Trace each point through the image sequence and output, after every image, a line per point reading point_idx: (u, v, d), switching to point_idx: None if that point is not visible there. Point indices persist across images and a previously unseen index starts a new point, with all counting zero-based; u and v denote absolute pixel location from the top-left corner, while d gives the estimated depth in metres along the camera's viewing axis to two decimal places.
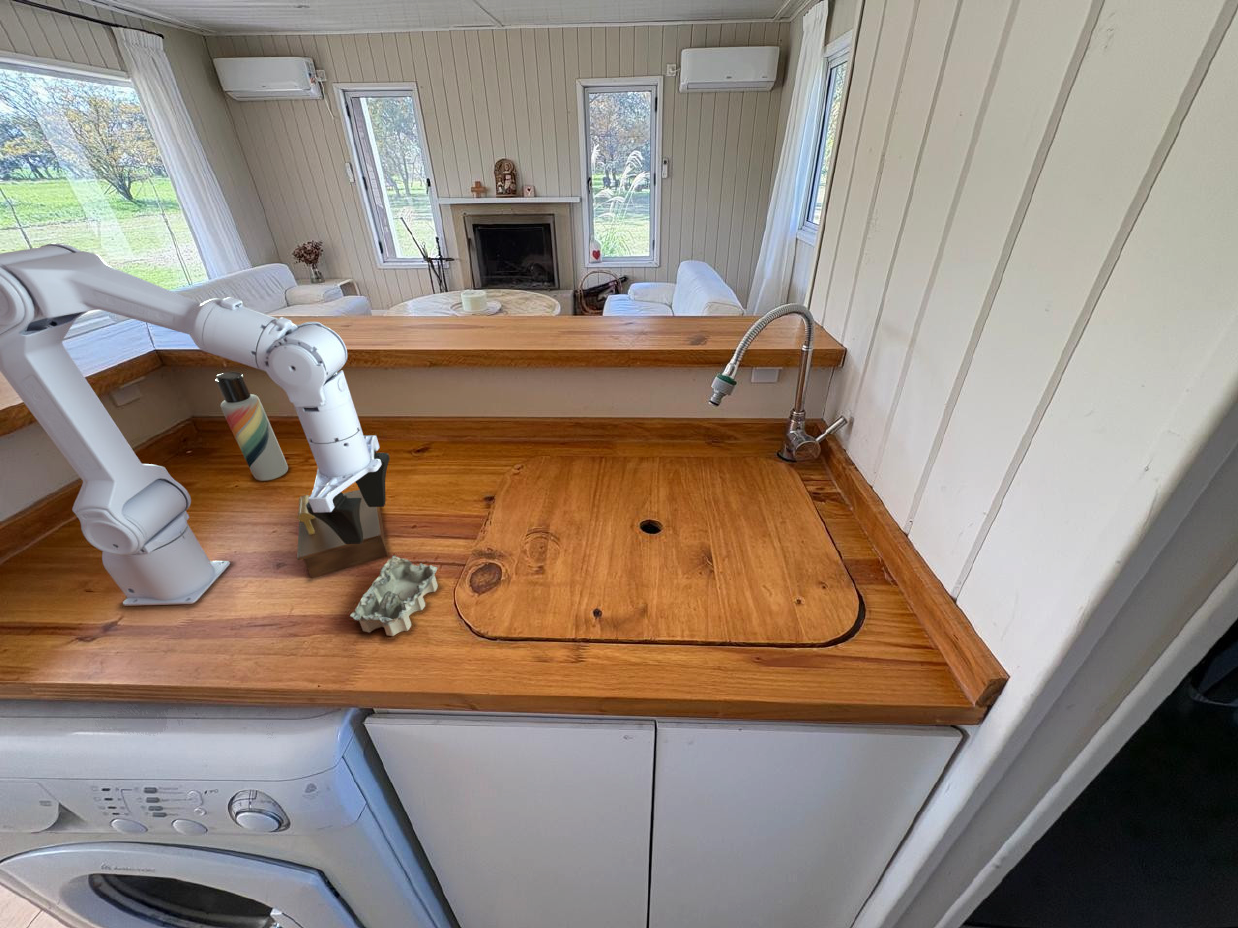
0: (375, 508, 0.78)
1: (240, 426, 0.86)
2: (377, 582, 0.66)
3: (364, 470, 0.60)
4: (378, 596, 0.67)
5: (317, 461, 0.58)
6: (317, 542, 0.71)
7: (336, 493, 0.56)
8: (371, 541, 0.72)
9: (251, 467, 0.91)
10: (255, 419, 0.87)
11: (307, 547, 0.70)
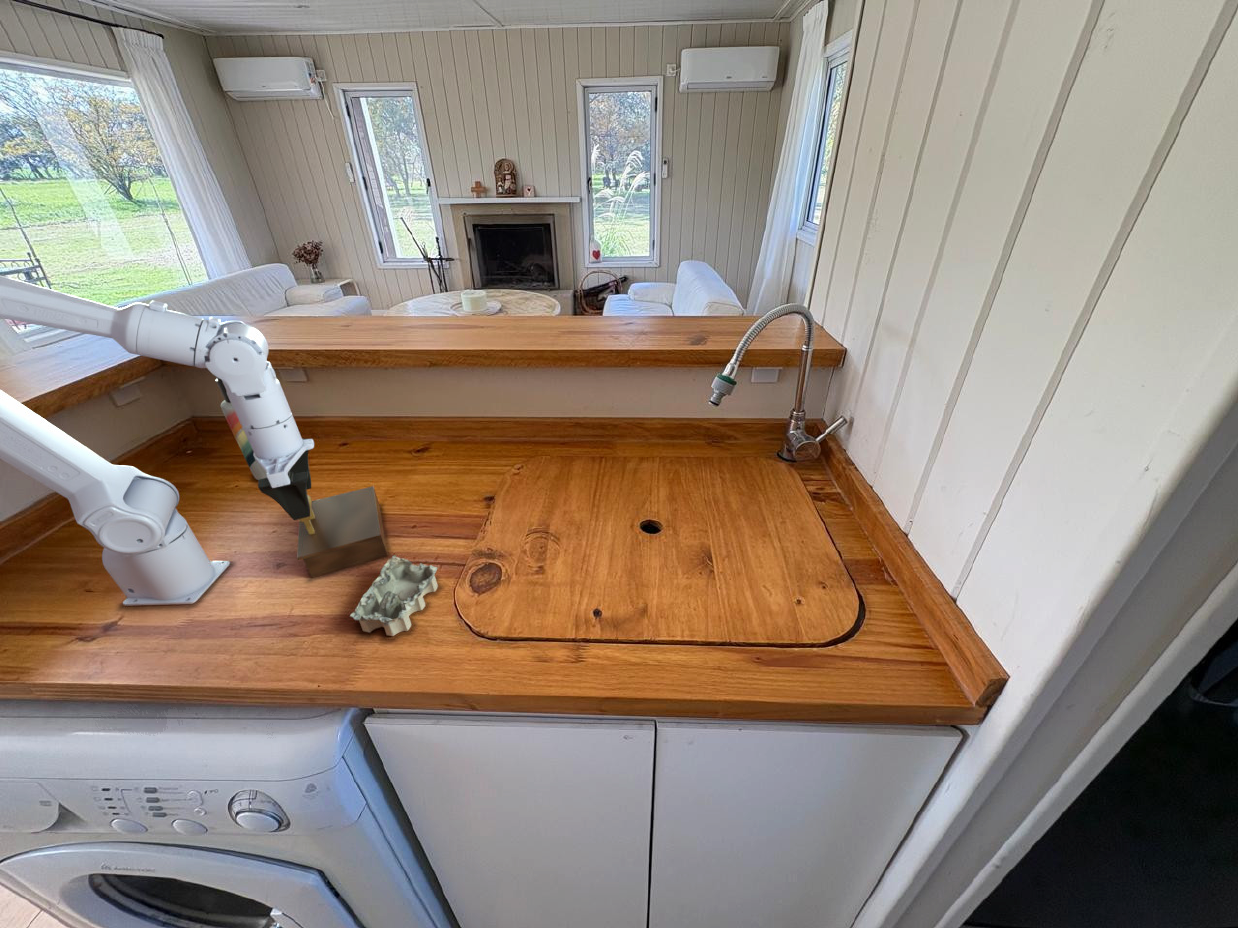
0: (375, 508, 0.78)
1: (240, 426, 0.86)
2: (377, 582, 0.66)
3: (302, 448, 0.68)
4: (378, 596, 0.67)
5: (258, 447, 0.64)
6: (317, 542, 0.71)
7: (289, 468, 0.64)
8: (371, 541, 0.72)
9: (251, 467, 0.91)
10: None
11: (307, 547, 0.70)
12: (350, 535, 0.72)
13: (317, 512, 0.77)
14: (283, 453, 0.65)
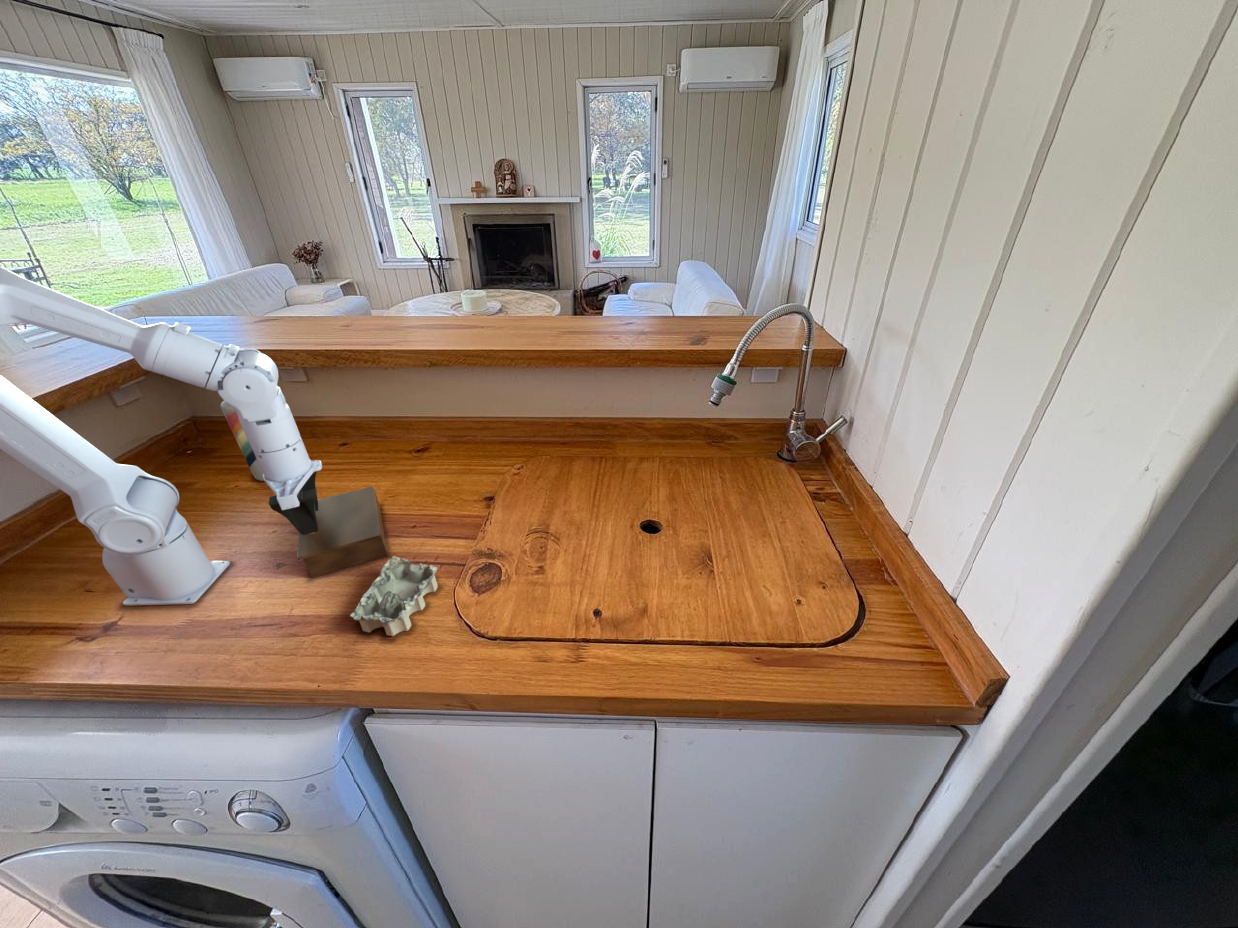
0: (375, 508, 0.78)
1: (240, 426, 0.86)
2: (377, 582, 0.66)
3: (311, 470, 0.69)
4: (378, 596, 0.67)
5: (268, 469, 0.66)
6: (317, 542, 0.71)
7: (298, 490, 0.66)
8: (371, 541, 0.72)
9: (251, 467, 0.91)
10: None
11: (307, 547, 0.70)
12: (350, 535, 0.72)
13: (317, 512, 0.77)
14: (292, 475, 0.67)
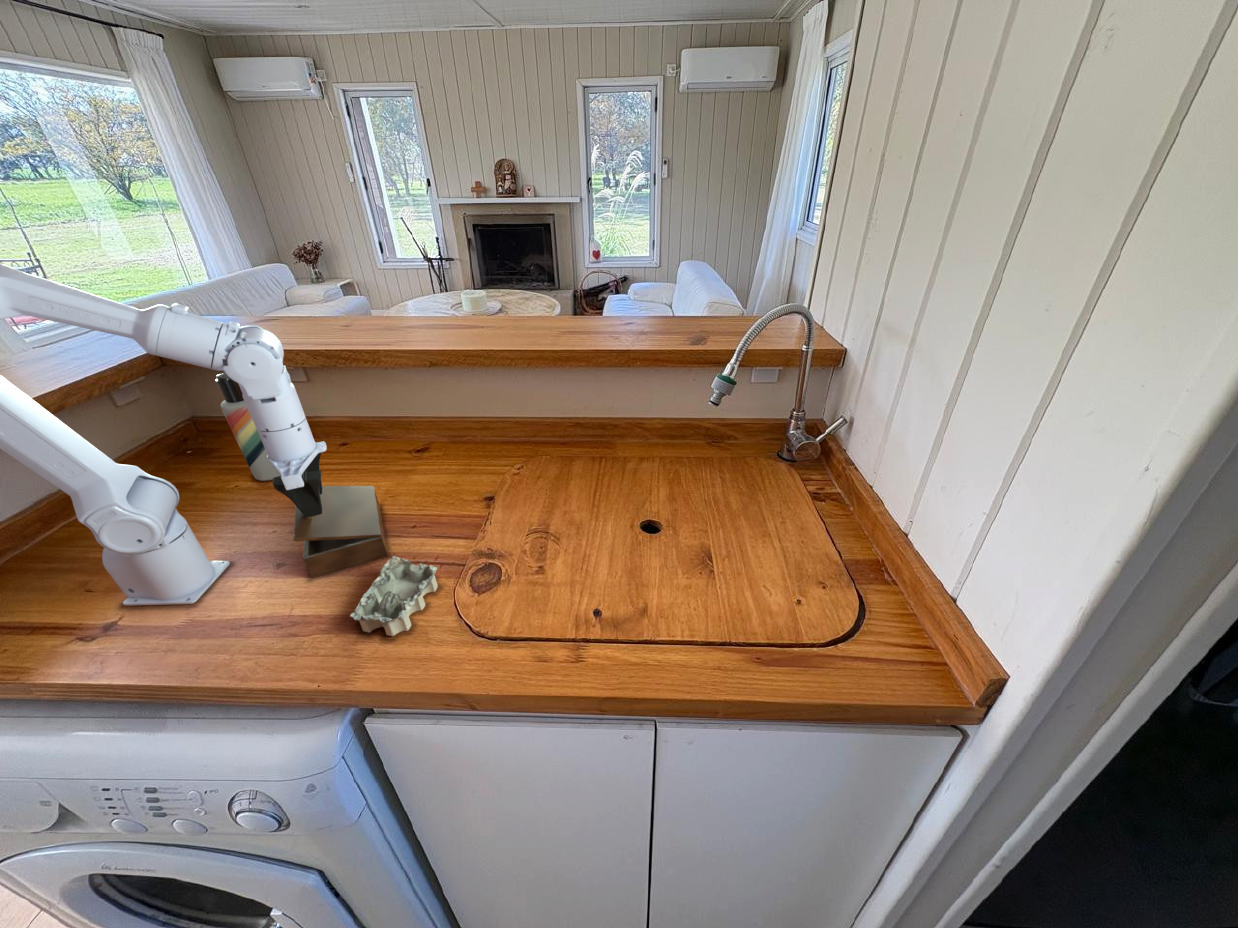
0: (376, 508, 0.78)
1: (240, 426, 0.86)
2: (377, 582, 0.66)
3: (315, 451, 0.68)
4: (378, 596, 0.67)
5: (272, 449, 0.65)
6: (315, 528, 0.70)
7: (302, 471, 0.65)
8: (371, 541, 0.72)
9: (251, 467, 0.91)
10: None
11: (304, 530, 0.69)
12: (350, 528, 0.72)
13: None
14: (297, 456, 0.66)
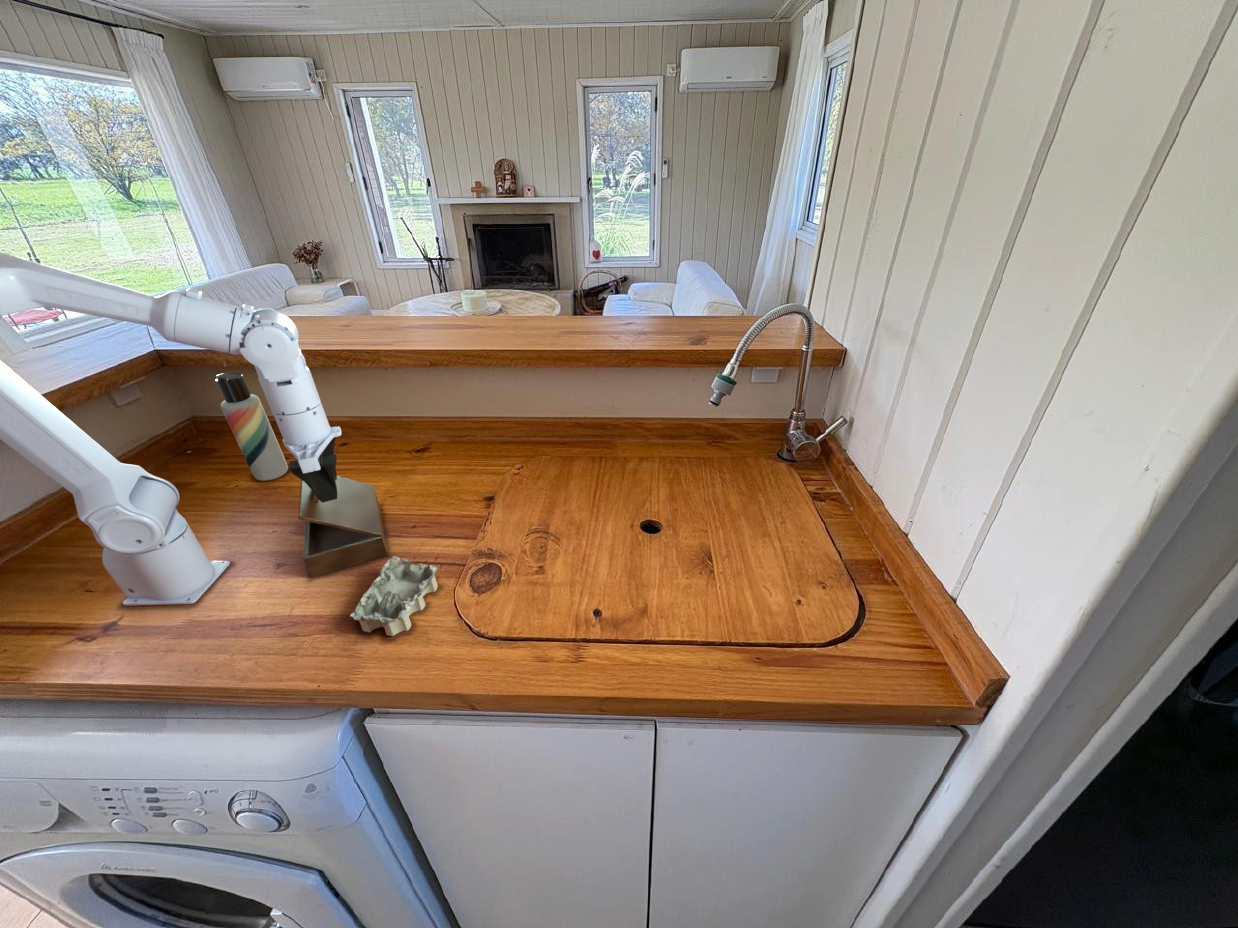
0: (376, 507, 0.78)
1: (240, 426, 0.86)
2: (377, 582, 0.66)
3: (331, 435, 0.68)
4: (378, 596, 0.67)
5: (288, 433, 0.65)
6: (320, 511, 0.69)
7: (319, 454, 0.65)
8: (371, 541, 0.72)
9: (251, 467, 0.91)
10: (255, 419, 0.87)
11: (310, 511, 0.68)
12: (353, 521, 0.72)
13: None
14: (312, 440, 0.66)
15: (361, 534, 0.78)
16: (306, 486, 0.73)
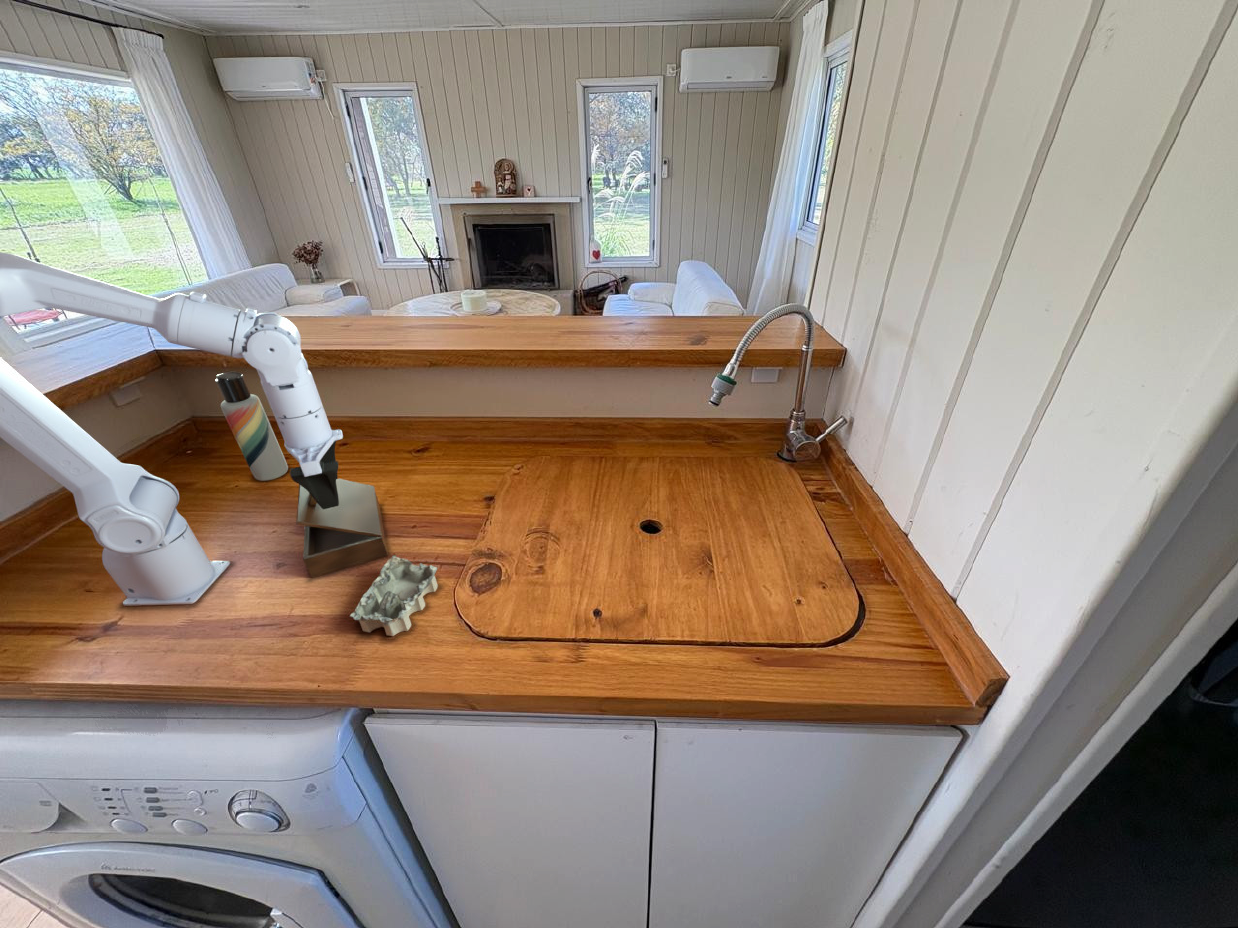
0: (376, 507, 0.78)
1: (240, 426, 0.86)
2: (377, 582, 0.66)
3: (332, 439, 0.69)
4: (378, 596, 0.67)
5: (289, 436, 0.65)
6: (318, 515, 0.69)
7: (320, 457, 0.65)
8: (371, 541, 0.72)
9: (251, 467, 0.91)
10: (255, 419, 0.87)
11: (308, 516, 0.68)
12: (352, 522, 0.72)
13: None
14: (314, 443, 0.67)
15: (361, 534, 0.78)
16: (304, 490, 0.73)
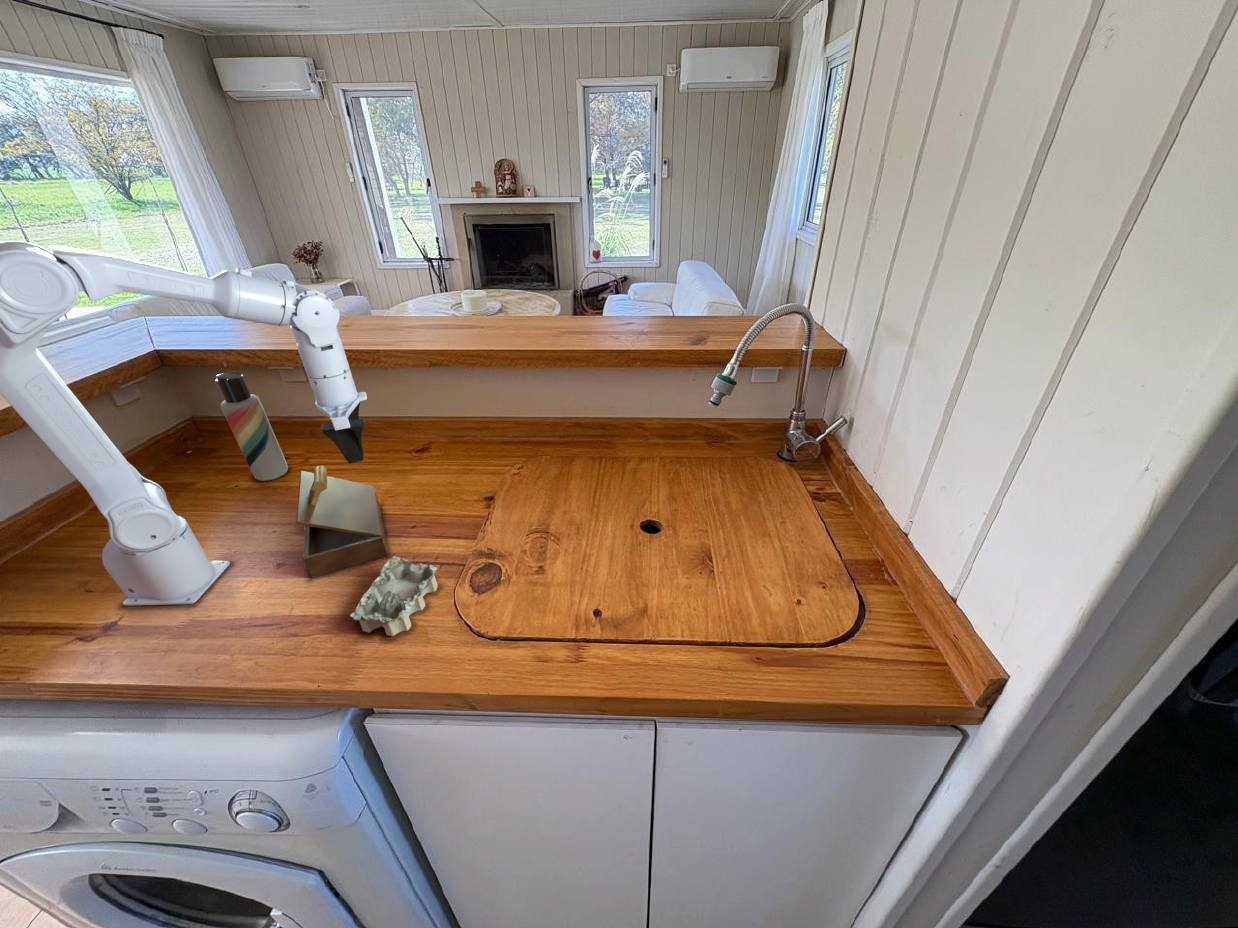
0: (376, 507, 0.78)
1: (240, 426, 0.86)
2: (377, 582, 0.66)
3: (358, 399, 0.76)
4: (378, 596, 0.67)
5: (321, 395, 0.73)
6: (318, 515, 0.69)
7: (348, 414, 0.73)
8: (371, 541, 0.72)
9: (251, 467, 0.91)
10: (255, 419, 0.87)
11: (308, 516, 0.68)
12: (352, 522, 0.72)
13: None
14: (342, 402, 0.74)
15: (361, 534, 0.78)
16: (304, 490, 0.73)
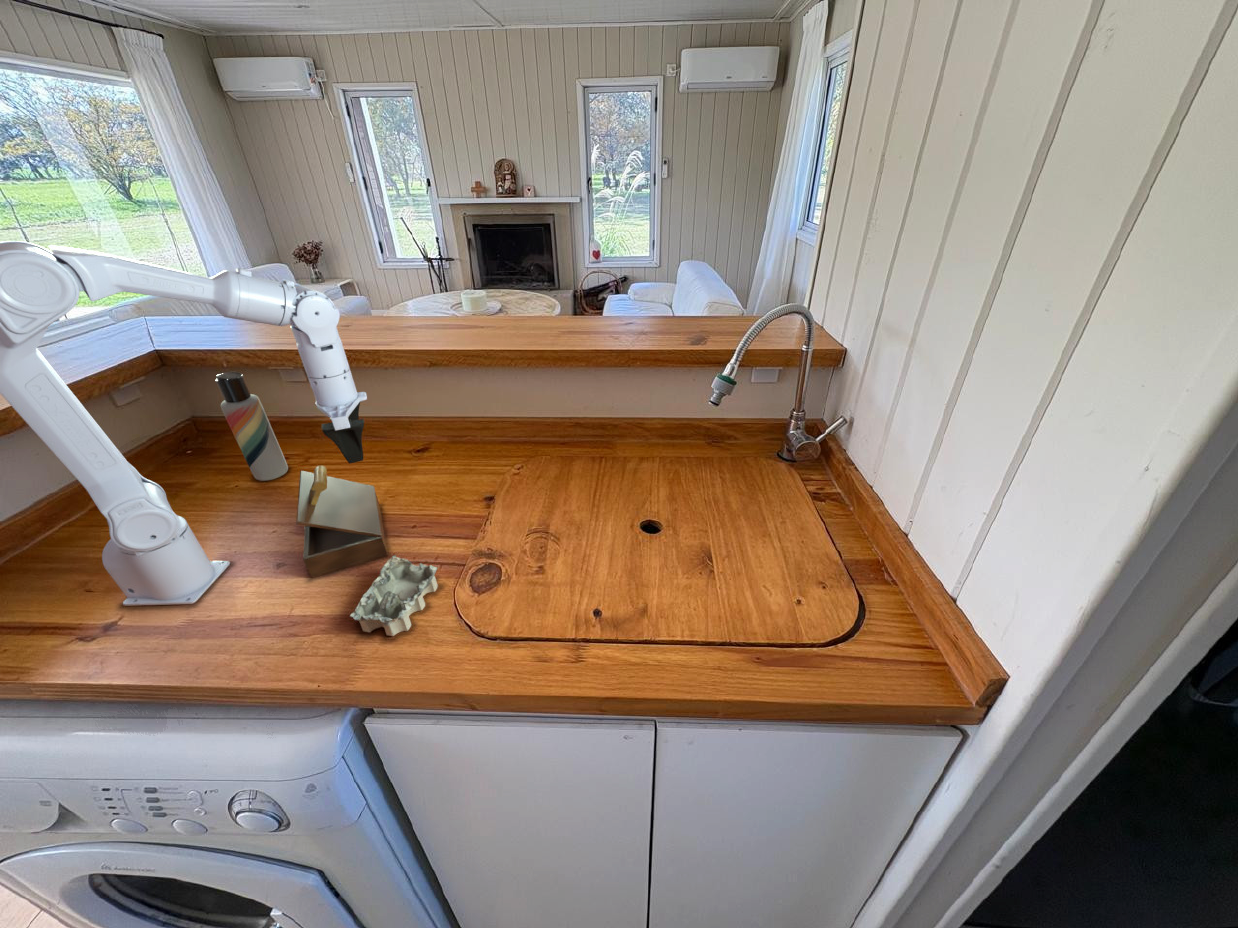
0: (376, 507, 0.78)
1: (240, 426, 0.86)
2: (377, 582, 0.66)
3: (358, 399, 0.76)
4: (378, 596, 0.67)
5: (321, 395, 0.73)
6: (318, 515, 0.69)
7: (348, 414, 0.73)
8: (371, 541, 0.72)
9: (251, 467, 0.91)
10: (255, 419, 0.87)
11: (308, 516, 0.68)
12: (352, 522, 0.72)
13: None
14: (342, 402, 0.74)
15: (361, 534, 0.78)
16: (304, 490, 0.73)
